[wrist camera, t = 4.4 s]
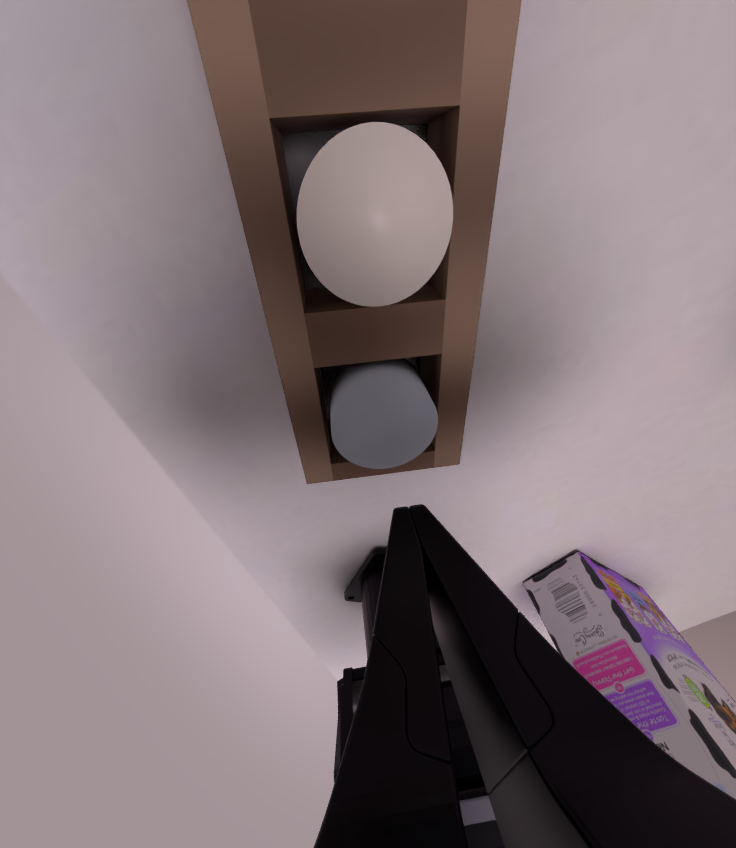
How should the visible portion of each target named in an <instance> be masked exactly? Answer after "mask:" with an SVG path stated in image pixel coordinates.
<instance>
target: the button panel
mask: <svg viewBox="0 0 736 848" xmlns="http://www.w3.org/2000/svg"><path fill="white" fill-rule="evenodd" d="M187 2H188V6H189V10H190V14H191V18H192V22H193V26H194V30H195V34H196V38H197V42H198V46H199V50H200V54H201V58H202V62H203V66H204V71H205V75H206V79H207V83H208V87H209V91H210V95H211V99H212V103H213V107H214V111H215V115H216V119H217V123H218V127H219V131H220V135H221V139H222V143H223V147H224V151H225V155H226V159H227V163H228V167H229V171H230V175H231V180H232V184H233V188H234V192H235V196H236V200H237V204H238V208H239V212H240V216H241V220H242V224H243V228H244V232H245V236H246V240H247V244H248V248H249V252H250V256H251V260H252V264H253V268H254V272H255V276H256V280H257V284H258V289H259V293H260V297H261V301H262V305H263V309H264V313H265V317H266V321H267V325H268V329H269V333H270V337H271V341H272V345H273V349H274V353H275V357H276V361H277V365H278V369H279V373H280V377H281V381H282V385H283V389H284V393H285V398H286V402H287V406H288V410H289V414H290V418H291V422H292V426H293V430H294V434H295V438H296V442H297V446H298V450H299V454H300V458H301V462H302V466H303V470H304V474H305V478H306V482H307V484H312V483H319V482H327V481H335V480H342V479H350V478H358V477H365V476H373V475H381V474H388V473H396V472H404V471H412V470H419V469H427V468H435V467H442V466H450V465H458V464H460V456H461V449H462V441H463V434H464V426H465V419H466V411H467V404H468V396H469V389H470V381H471V374H472V366H473V359H474V351H475V344H476V336H477V329H478V321H479V314H480V306H481V299H482V291H483V284H484V277H485V269H486V262H487V254H488V247H489V239H490V232H491V224H492V217H493V209H494V202H495V194H496V187H497V179H498V172H499V164H500V157H501V149H502V142H503V134H504V127H505V119H506V112H507V105H508V97H509V90H510V82H511V75H512V67H513V60H514V52H515V45H516V37H517V30H518V22H519V15H520V7H521V0H187ZM369 122H385V123H390V124H395V125H412V124H426V123H428V133H427V145H428V146H429V147H430V148H431V149H432V150H433V151H434V153H435V154H436V156H437V157H438V159H439V160H440V162H441V164H442V166H443V168H444V170H445V172H446V175H447V178H448V181H449V184H450V189H451V193H452V200H453V224H452V232H451V236H450V240H449V244H448V247H447V250H446V252H445V255H444V257H443V259H442V261H441V263H440V265H439V266H438V268H437V270H436V271H435V273H434V274H433V275H432V277H431V278H430V279H429V280H428V281H427V282H426V283H425V284H424V285H423V286H422V287H421V288H420V289H419V290H418V291H416V292H415V293H414V294H412V295H411V296H409V297H407V298H406V299H403V300H401V301H399V302H397V303H393V304H390V305H385V306H376V307H369V306H361V305H357V304H353V303H350V302H348V301H345V300H343V299H341V298H340V297H338V296H336V295H335V294H333V293H332V292H331V291H329V290H328V289H327V288H320V289H309V290H307V287H306V281H305V275H304V269H303V263H302V257H301V250H300V244H299V238H298V232H297V226H296V220H295V214H294V208H293V202H292V196H291V190H290V184H289V178H288V172H287V166H286V160H285V154H284V148H283V142H282V136H281V134H286V133H300V132H314V131H328V130H342V129H348V128H350V127H353V126H356V125H359V124H363V123H369ZM419 356H421V357H420V378H421V380H422V382H423V384H424V386H425V387H426V389H427V391H428V393H429V395H430V397H431V399H432V401H433V403H434V405H435V407H436V410H437V414H438V427H437V431H436V434H435V436H434V438H433V440H432V442H431V443H430V445H429V446H428V447H427V448H426V449H425V450H424V451H423V452H422V453H421V454H420V455H419V456H417V457H416V458H414V459H413V460H411V461H409V462H407V463H405V464H402V465H400V466H396V467H392V468H386V469H371V468H365V467H361V466H358V465H356V464H354V463H352V462H350V461H348V460H347V459H345V458H344V457H343V456H342V455H341V454H340V453H339V452H338V450H337V449H336V447H335V445H334V443H333V440H332V436H331V424H329V420H328V413H327V407H326V401H325V395H324V389H323V383H322V377H321V371H320V367H329V366H338V365H347V364H356V363H365V362H374V361H383V360H392V359H401V358H410V357H419Z"/></svg>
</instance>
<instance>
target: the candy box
mask: <svg viewBox="0 0 736 848" xmlns="http://www.w3.org/2000/svg"><path fill="white" fill-rule="evenodd" d="M524 586H525V588H526V590H527V592H528V594H529V596H530V598H531V600H532V601H533V603H534V606H535V608H536V610H537V611H538V613H539V615H540V617H541V619H542V621H543V623H544V625H545V627H546V629H547V631H548V633H549V635H550V637H551V639H552V640H553V642H554V644H555V646H556V648H557V650H558V652H559V654H560V655H561V656H562V657H563V658H564V659H565V660H566V661H568V662H569V663H570V664H571V665H572V666H573V667H574V668H575V669H576V670H577V671H578V672H579V673H580V674H581V675H582V676H583V677H584V678H585V679H586V680H587V681H588V682H590V683H591V684H592V685H593V686H594V687H595V688H596V689H597V690H598V691H599V692H600V693H601V694H602V695H603V696H604V697H606V698H607V699H608V700H609V701H610V702H611V703H612V704H613V705H614V706H615V707H616V708H617V709H618V710H619V711H620V712H621V713H623V714H624V715H625V716H626V717H627V718H628V719H629V720H630V721H631V722H632V723H633V724H634V725H635V726H636V727H637V728H639V729H640V730H641V731H642V732H643V733H644V734H645V735H646V736H647V737H648V738H650V739H651V740H652V741H653V742H654V743H655V744H656V745H658V746H659V747H660V748H661V749H662V750H664V751H665V752H666V753H668V754H669V755H670V756H671V757H673V758H674V759H675V760H677V761H678V762H679V763H681V764H682V765H684V766H685V767H686V768H688V769H689V770H691V771H692V772H694V773H695V774H697V775H698V776H700V777H701V778H703V779H705V780H706V781H708V782H709V783H711V784H713V785H714V786H716V787H717V788H719V789H720V790H722V791H724V792H725V793H727V794H728V795H730V796H732V797H733V798H735V799H736V703H735V701H734V700H733V699H732V698H731V697H730V695H729V694H728V693H727V692H726V690H725V689H724V688H723V687H722V686H721V684H720V683H719V682H718V681H717V679H716V678H715V677H714V676H713V674H712V673H711V672H710V671H709V669H708V668H707V667H706V666H705V665H704V663H703V662H702V661H701V660H700V658H699V657H698V656H697V655H696V654H695V652H694V651H693V650H692V648H691V647H690V646H689V645H688V644H687V642H686V641H685V640H684V639H683V637H682V636H681V635H680V633H679V632H678V631H677V630H676V628H675V627H674V626H673V625H672V624H671V622H670V621H669V620H668V619H667V617H666V616H665V615H664V614H663V612H662V611H661V610H660V609H659V608H658V606H657V605H656V604H655V603H654V601H653V600H652V599H651V598H650V597H649V595H648V594H647V593H646V591H645V590H644V589H643V588H641V587H640V586H638V585H636V584H634V583H632V582H631V581H629V580H628V579H626V578H624V577H622V576H620V575H619V574H617V573H615V572H614V571H612V570H609V569H608V568H606V567H605V566H603V565H601V564H599V563H597V562H595V561H594V560H592V559H590V558H589V557H587V556H585V555H583V554H582V553H580V552H577V553H575V554H574V555H572V556H570V557H568V558H566V559H564V560H563V561H561V562H559V563H558V564H556V565H554V566H553V567H551V568H549V569H547V570H546V571H544V572H542V573H540V574H538V575H536V576H535V577H533V578H531V579H529V580H528V581H526V582H525V583H524Z"/></svg>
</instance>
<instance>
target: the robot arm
mask: <svg viewBox="0 0 736 848" xmlns="http://www.w3.org/2000/svg"><path fill="white" fill-rule="evenodd" d="M344 597H345V600H346V601H353V602H362V608H363V618H364V628H365V638H366V648H367V658H368V660H367V665H366V667H362V668H356V669H353V668H346V669H344V670H343V678H342V679H341V680H339V681H337V687H338V726H337V739H336V752H335V766H334V787H333V791H332V794H331V798H330V801H329V804H328V807H327V810H326V813H325V816H324V819H323V822H322V825H321V828H320V831H319V834H318V837H317V840H316V843H315V845H314V848H736V799H735V798H733V797H732V796H730V795H728V794H727V793H725V792H724V791H722V790H720V789H719V788H717V787H716V786H714V785H713V784H711V783H709V782H708V781H706V780H705V779H703V778H701V777H700V776H698V775H697V774H695V773H694V772H692V771H691V770H689V769H688V768H686V767H685V766H684V765H682V764H681V763H679V762H678V761H677V760H675V759H674V758H673V757H671V756H670V755H669V754H668V753H666V752H665V751H664V750H662V749H661V748H660V747H659V746H658V745H656V744H655V743H654V742H653V741H652V740H651V739H650V738H648V737H647V736H646V735H645V734H644V733H643V732H642V731H641V730H640V729H639V728H637V727H636V726H635V725H634V724H633V723H632V722H631V721H630V720H629V719H628V718H627V717H626V716H625V715H624V714H623V713H621V712H620V711H619V710H618V709H617V708H616V707H615V706H614V705H613V704H612V703H611V702H610V701H609V700H608V699H607V698H606V697H604V696H603V695H602V694H601V693H600V692H599V691H598V690H597V689H596V688H595V687H594V686H593V685H592V684H591V683H590V682H588V681H587V680H586V679H585V678H584V677H583V676H582V675H581V674H580V673H579V672H578V671H577V670H576V669H575V668H574V667H573V666H572V665H571V664H570V663H569V662H568V661H566V660H565V659H564V658H563V657H562V656H561V655H560V654H559V653H558V652H557V651H556V650H555V649H554V648H553V647H552V646H551V645H550V644H549V642H548V641H547V640H546V639H545V638H544V637H543V636H542V635H541V634H540V633H539V632H538V631H537V630H536V629H535V628H534V627H533V625H532V624H531V623H530V622H529V621H528V620H527V619H526V618H525V616H524V615H523V614H522V613H521V612H519V613H518V609H517V608H516V607H515V606H514V604H513V603H512V602H511V601H510V600H509V599H508V598H507V597H506V595H505V594H504V593H503V592H502V591H501V590H500V589H499V588H498V587H497V585H496V584H495V583H494V582H493V581H492V580H491V579H490V578H489V577H488V575H487V574H486V573H485V572H484V571H483V570H482V569H481V568H480V567H479V565H478V564H477V563H476V562H475V561H474V560H473V559H472V558H471V556H470V555H469V554H468V553H467V552H466V551H465V550H464V549H463V548H462V546H461V545H460V544H459V543H458V542H457V541H456V540H455V539H454V538H453V536H452V535H451V534H450V533H449V532H448V531H447V530H446V529H445V528H444V526H443V525H442V524H441V523H440V522H439V521H438V520H437V519H436V517H435V516H434V515H433V514H432V513H431V512H430V511H429V510H428V509H427V507H426V506H424V505H422V504H420V505H413V506H410V507H409V508H408V507H399V508H395V509H394V510H393V515H392V521H391V527H390V533H389V539H388V545H387V549H382V548H378V549H375V550H373V551H372V553H371V554H370V555H369V557H368V558H367V560H366V561H365V563H364V564H363V566H362V567H361V569H360V570H359V572H358V573H357V575H356V576H355V578H354V579H353V581H352V582H351V584H350V585H349V587H348V588H347V590H346V591H345V593H344Z"/></svg>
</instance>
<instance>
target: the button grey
mask: <svg viewBox="0 0 736 848" xmlns="http://www.w3.org/2000/svg"><path fill="white" fill-rule="evenodd" d="M330 418H331V436H332V440H333V443H334V445H335V447H336V449H337V450H338V452H339V453H340V454H341V455H342V456H343V457H344V458H345V459H347V460H348V461H350V462H352V463H354V464H356V465H358V466H361V467H365V468H371V469H386V468H392V467H396V466H400V465H402V464H405V463H407V462H409V461H411V460H413V459H414V458H416V457H417V456H419V455H420V454H421V453H422V452H423V451H424V450H425V449H426V448H427V447H428V446H429V445H430V443H431V442H432V440H433V438H434V436H435V434H436V431H437V427H438V414H437V410H436V407H435V405H434V403H433V401H432V399H431V397H430V395H429V393H428V391H427V389H426V387H425V386H424V384H423V382H422V380H421V378H420V376H419V374H418V372H417V370H416V369H415V367H414V366H413V365H412V364H411V363H410V362H409V361H408V360H406V359H405V358H401V359H392V360H383V361H374V362H365V363H356V364H347V365H343V366H342V367H341V368H340V369H339V371H338V372H337V373H336V375H335V377H334V378H333V381H332V383H331V387H330Z"/></svg>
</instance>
